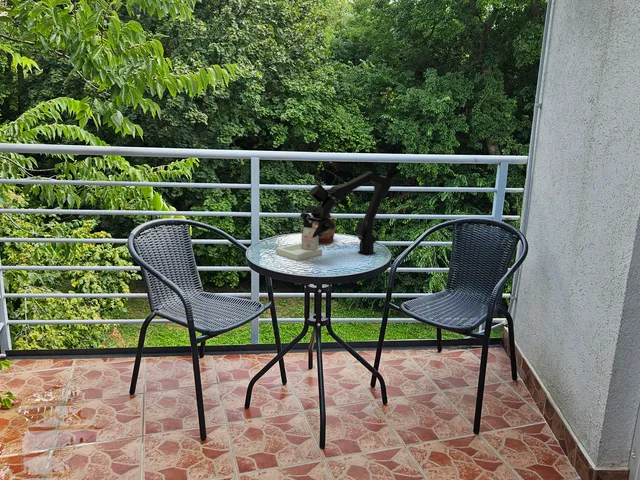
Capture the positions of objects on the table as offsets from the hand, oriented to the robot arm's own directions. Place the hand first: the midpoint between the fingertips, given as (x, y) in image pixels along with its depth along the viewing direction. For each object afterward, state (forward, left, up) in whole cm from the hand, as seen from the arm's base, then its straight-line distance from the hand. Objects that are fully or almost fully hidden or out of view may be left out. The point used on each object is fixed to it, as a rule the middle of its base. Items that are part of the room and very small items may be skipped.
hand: (307, 235), depth 256 cm
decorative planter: (+23, -33, -13) cm, 43 cm away
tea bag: (0, -1, -7) cm, 7 cm away
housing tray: (+13, -6, -13) cm, 20 cm away
